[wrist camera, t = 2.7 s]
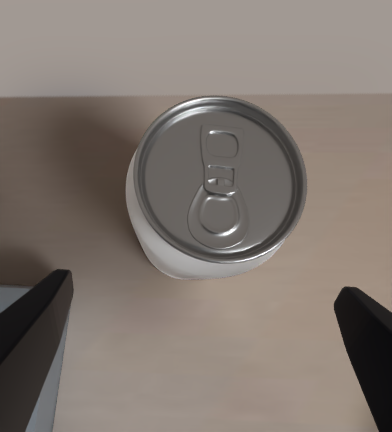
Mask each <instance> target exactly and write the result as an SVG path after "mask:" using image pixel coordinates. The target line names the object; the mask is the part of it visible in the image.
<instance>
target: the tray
mask: <svg viewBox="0 0 392 432" xmlns="http://www.w3.org/2000/svg"><path fill="white" fill-rule="evenodd" d="M33 287H34V286H17V285H0V313H1V312H2V311H4V310H5V309H6V308H7V307H9V306H10V305H11V304H12V303H14V302H15V301H16V300H18V299H19V298H20V297H21V296H23V295H24V294H25V293H26V292H28V291H29V290H30V289H32V288H33ZM70 306H71V305H70ZM69 313H70V308H69V312H68V316H67V319H66V323H65V327H64V331H63V334H62V338H61V341H60V344H59V347H58V350H57V352H56V355H55V358H54V360H53V363H52V365H51V368H50V370H49V373H48V375H47V378H46V380H45V383H44V385H43V388H42V390H41V393H40V396H39V398H38V401H37V403H36V406H35V408H34V411H33V413H32V416H31V418H30V421H29V423H28V426H27V428H26V431H25V432H52V429H53V422H54V415H55V408H56V402H57V395H58V388H59V381H60V374H61V367H62V361H63V354H64V347H65V340H66V333H67V326H68V320H69Z"/></svg>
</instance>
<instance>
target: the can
mask: <svg viewBox="0 0 392 432" xmlns="http://www.w3.org/2000/svg"><path fill="white" fill-rule="evenodd" d="M306 195H307V176H306V169H305V165H304V161H303V158H302V155H301V153H300V150H299V148H298V146H297V144H296V143H295V141H294V139H293V138H292V136H291V135H290V134H289V132H288V131H287V130H286V129H285V127H284V126H283V125H282V124H281V123H280V122H279V121H278V120H277V119H275V118H274V117H273V116H272V115H271V114H269V113H268V112H266V111H265V110H263V109H261V108H260V107H258V106H256V105H254V104H252V103H249V102H247V101H244V100H241V99H237V98H233V97H227V96H202V97H196V98H192V99H189V100H186V101H183V102H181V103H178V104H176V105H174V106H173V107H171V108H169V109H168V110H166V111H165V112H163V113H162V114H161V115H160V116H159V117H158V118H157V119H156V120H155V121H154V122H153V123H152V124H151V125H150V126H149V128H148V129H147V131H146V132H145V134H144V135H143V137H142V139H141V141H140V143H139V146H138V148H137V150H136V151H135V153H134V155H133V157H132V160H131V162H130V165H129V169H128V173H127V178H126V203H127V209H128V213H129V217H130V220H131V223H132V226H133V228H134V231H135V233H136V235H137V238H138V240H139V242H140V244H141V246H142V248H143V250H144V252H145V254H146V256H147V258H148V259H149V260H150V262H151V263H152V264H153V265H154V266H155V267H156V268H157V269H158V270H160V271H161V272H163V273H164V274H166V275H168V276H170V277H173V278H177V279H186V280H195V279H218V278H226V277H231V276H236V275H239V274H242V273H245V272H247V271H249V270H252V269H254V268H255V267H257V266H259V265H261V264H262V263H264V262H265V261H266V260H268V259H269V258H270V257H271V256H272V255H273V254H274V253H275V252H276V251H277V250H278V249H279V248H280V246H281V245H282V244H283V242H284V241H285V239H286V238H287V237H288V236H289V235H290V233H291V232H292V231H293V229H294V228H295V226H296V225H297V223H298V221H299V219H300V217H301V214H302V212H303V209H304V205H305V201H306Z"/></svg>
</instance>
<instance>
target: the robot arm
mask: <svg viewBox="0 0 392 432" xmlns="http://www.w3.org/2000/svg"><path fill="white" fill-rule="evenodd" d="M73 290H74V289H73V281H72V273H71V271H70V270H64V269H57V270H55V271H53V272H52V273H51V274H49V275H48V276H47V277H46V278H44V279H43V280H42V281H40V282H39V283H38V284H37V285H35V286H34V287H33V288H32V289H30V290H29V291H28V292H26V293H25V294H24V295H23V296H21V297H20V298H19V299H18V300H16V301H15V302H14V303H12V304H11V305H10V306H9V307H7V308H6V309H5V310H4V311H2V312H1V313H0V432H25V431H26V428H27V426H28V423H29V421H30V418H31V416H32V413H33V411H34V408H35V406H36V403H37V401H38V398H39V396H40V393H41V390H42V388H43V385H44V383H45V380H46V378H47V375H48V373H49V370H50V368H51V365H52V363H53V360H54V358H55V355H56V352H57V350H58V347H59V344H60V341H61V338H62V334H63V331H64V327H65V323H66V319H67V316H68V312H69V308H70V305H71V301H72V297H73ZM334 311H335V314H336V318H337V321H338V324H339V328H340V331H341V334H342V338H343V341H344V345H345V348H346V351H347V354H348V356H349V359H350V361H351V364H352V366H353V369H354V371H355V374H356V376H357V379H358V381H359V384H360V386H361V389H362V391H363V393H364V396H365V398H366V401H367V403H368V406H369V408H370V411H371V413H372V416H373V418H374V421H375V423H376V426H377V428H378V430H379V432H392V313H391V312H390V311H389V310H387V309H386V308H385V307H383V306H382V305H380V304H379V303H378V302H376V301H375V300H374V299H372V298H371V297H369V296H368V295H367V294H365V293H364V292H363V291H361V290H360V289H358V288H356V287H344V288H342V290H341V291H340V293H339V295H338V297H337V298H336V300H335V302H334Z"/></svg>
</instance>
